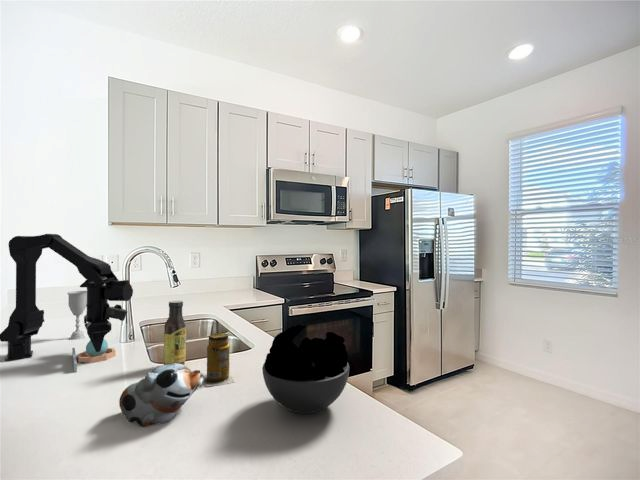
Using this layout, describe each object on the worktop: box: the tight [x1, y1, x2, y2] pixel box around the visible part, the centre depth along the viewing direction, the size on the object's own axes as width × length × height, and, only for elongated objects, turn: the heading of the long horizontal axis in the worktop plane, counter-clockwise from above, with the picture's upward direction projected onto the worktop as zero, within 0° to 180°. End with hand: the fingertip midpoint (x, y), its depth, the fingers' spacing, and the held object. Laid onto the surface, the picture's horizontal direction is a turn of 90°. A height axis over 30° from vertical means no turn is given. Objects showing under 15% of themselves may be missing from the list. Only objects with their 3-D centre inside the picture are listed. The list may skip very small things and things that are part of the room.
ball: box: [85, 338, 109, 357], centre depth 109 cm, size 6×6×6 cm
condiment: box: [203, 332, 235, 387], centre depth 92 cm, size 7×8×12 cm
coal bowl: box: [262, 324, 350, 414], centre depth 76 cm, size 20×20×19 cm
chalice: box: [66, 290, 87, 340], centre depth 130 cm, size 7×7×18 cm
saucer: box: [77, 347, 116, 364], centre depth 109 cm, size 10×10×2 cm
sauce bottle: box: [162, 300, 187, 366], centre depth 101 cm, size 7×6×20 cm
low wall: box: [71, 347, 78, 373], centre depth 103 cm, size 18×1×2 cm, turn 38°
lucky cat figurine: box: [118, 363, 205, 428], centre depth 73 cm, size 15×12×14 cm
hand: (96, 348), depth 109 cm, fingers open, 9 cm apart
